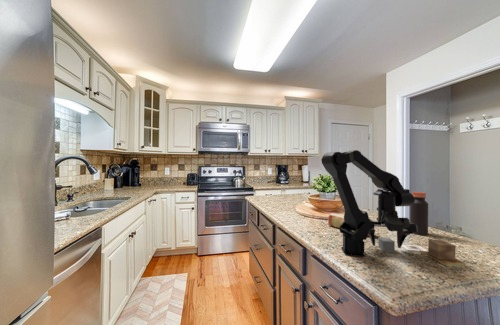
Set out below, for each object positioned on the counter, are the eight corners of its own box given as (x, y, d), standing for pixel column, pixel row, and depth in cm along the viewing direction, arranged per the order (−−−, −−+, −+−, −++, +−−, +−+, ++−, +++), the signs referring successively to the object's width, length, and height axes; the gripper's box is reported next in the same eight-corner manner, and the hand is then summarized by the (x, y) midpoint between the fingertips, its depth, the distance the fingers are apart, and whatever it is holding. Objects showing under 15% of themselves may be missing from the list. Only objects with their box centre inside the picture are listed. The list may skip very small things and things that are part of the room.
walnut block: (437, 258, 69) (438, 244, 69) (428, 252, 74) (428, 239, 74) (455, 260, 68) (455, 246, 68) (444, 254, 73) (444, 240, 73)
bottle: (421, 231, 102) (421, 191, 102) (431, 236, 95) (432, 193, 96) (406, 230, 103) (407, 191, 103) (416, 235, 96) (416, 193, 96)
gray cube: (382, 251, 78) (382, 241, 78) (378, 247, 82) (378, 237, 82) (394, 252, 77) (394, 241, 77) (389, 248, 81) (389, 238, 81)
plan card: (407, 250, 78) (407, 248, 78) (400, 245, 83) (400, 243, 83) (428, 252, 77) (428, 250, 77) (419, 247, 82) (419, 245, 82)
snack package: (375, 235, 96) (375, 221, 96) (368, 238, 92) (369, 223, 92) (333, 224, 113) (334, 212, 113) (327, 226, 109) (327, 213, 109)
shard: (419, 253, 78) (419, 249, 78) (439, 254, 77) (439, 249, 77) (446, 268, 67) (446, 262, 67) (469, 268, 67) (469, 263, 67)
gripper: (368, 210, 73) (368, 253, 73) (427, 213, 70) (427, 258, 70) (358, 204, 84) (357, 241, 84) (408, 206, 81) (408, 245, 81)
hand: (386, 246), depth 79 cm, fingers open, 9 cm apart
